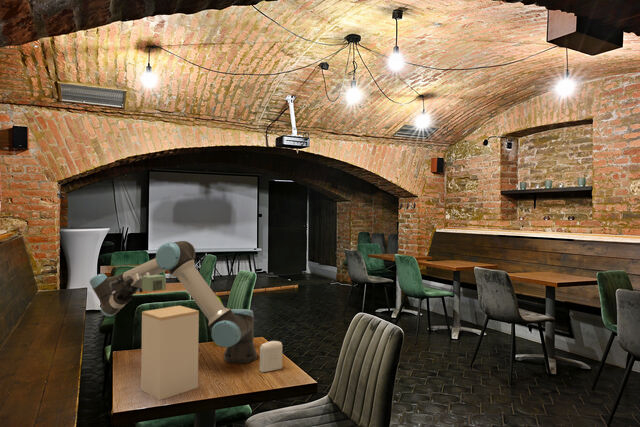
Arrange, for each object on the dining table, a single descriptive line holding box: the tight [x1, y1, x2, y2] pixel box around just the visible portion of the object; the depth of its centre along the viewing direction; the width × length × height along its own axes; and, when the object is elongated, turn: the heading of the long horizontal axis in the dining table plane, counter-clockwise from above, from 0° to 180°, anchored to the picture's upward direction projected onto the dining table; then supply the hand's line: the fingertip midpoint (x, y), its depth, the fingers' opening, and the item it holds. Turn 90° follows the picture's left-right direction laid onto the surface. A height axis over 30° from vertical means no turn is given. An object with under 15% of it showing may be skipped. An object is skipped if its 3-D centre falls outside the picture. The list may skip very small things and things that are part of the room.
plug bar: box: [128, 274, 167, 293], centre depth 186 cm, size 22×7×6 cm, turn 48°
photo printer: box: [259, 340, 283, 373], centre depth 194 cm, size 10×4×12 cm, turn 123°
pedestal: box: [140, 305, 200, 401], centre depth 172 cm, size 14×16×30 cm
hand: (143, 275), depth 187 cm, fingers closed on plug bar, 4 cm apart
